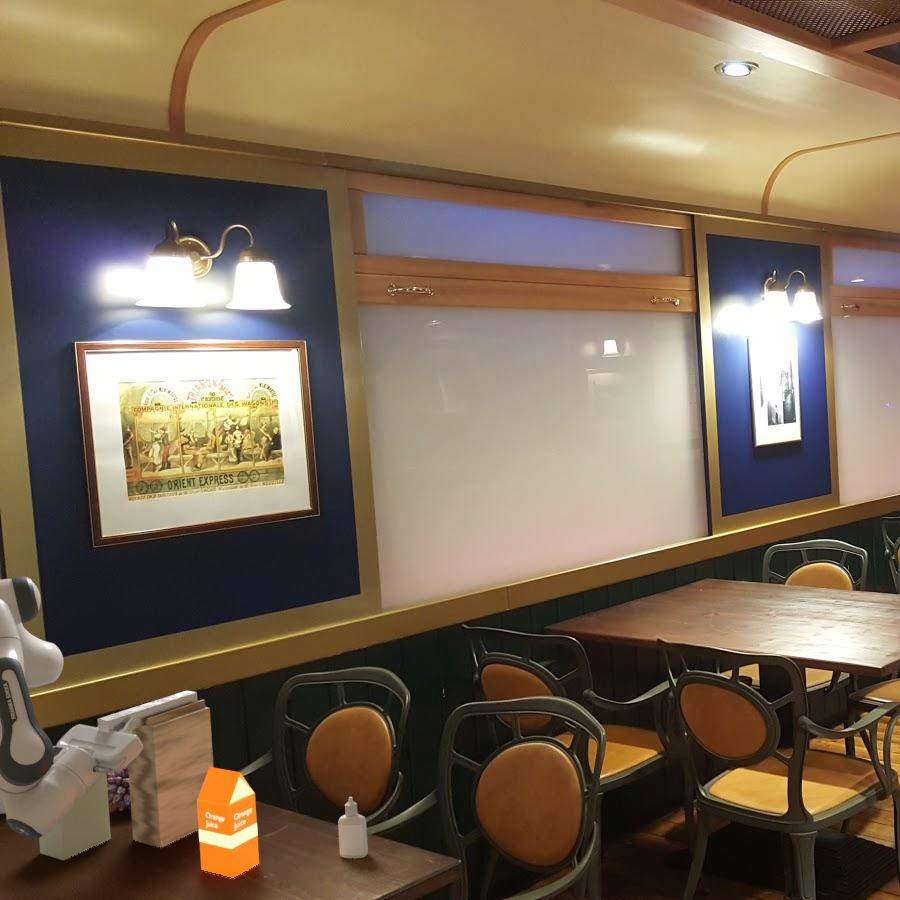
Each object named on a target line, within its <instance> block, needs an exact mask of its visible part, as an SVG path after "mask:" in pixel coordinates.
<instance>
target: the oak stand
mask: <svg viewBox="0 0 900 900" xmlns="http://www.w3.org/2000/svg"><path fill="white" fill-rule="evenodd" d="M210 709H211V708H210V707H207V706H206V699H200V700H197V702H194V703H191V704H188V705H185V706H182V707H179V708H176V709H173V710H170V711H167V712H164V713H161V714H158V715H155V716H152V717H149V718H146V725H145V726H142V727H139V728H136V729H133V730H132V733H131V734H134V735H137V736H138V738H139V739H140V741H141V742H142V744H143V750H142V752H141V753H140V754H139V755H138V756H137V757H136V758H135V759H134V760H133V761H132V762H131V763H129V764H128V769H129V784H130V799H131V809H130V810H131V811H130V813H131V825H132V826H131V827H132V840H135V841H134V842H137V841H138V843H141V844H145V845H148V846H152V847H155V846H156V848H159V847H160V848H159V849H162V848H165V847H166V846H168V844H169V845H170V843H171V844H172V842H173V843H175V842H177V841H179V840H181V839H183V838H185V836H186V837H187V835H188V836H190V835H192V834H194V833H196V832H199V824H198V808H197V799H198V797H199V794H200V792H201V789H202V786H203V783H204V781H205V778H206V775H207V773H208V770H209V767H213V768H214V756H213V754H214V753H213V740H212V727H211V726H212V723H211V722H212V721H211V710H210ZM195 831H196V832H195ZM193 832H194V833H193ZM191 833H192V834H191ZM189 834H190V835H189ZM180 838H181V839H180ZM176 840H177V841H176ZM174 841H175V842H174ZM161 847H162V848H161Z"/></svg>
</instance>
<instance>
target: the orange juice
mask: <svg viewBox="0 0 900 900" xmlns="http://www.w3.org/2000/svg"><path fill="white" fill-rule="evenodd" d="M256 803H257V802H256V793H255V791H254V790H253V789H252V787H251V786H250V785H249V783H248V781H247V780H246V779H245V777H244V776H243V774H242V773H241V772H239V771H235V770H234V771H233V770H229V769H222V768H217V767H214V766H213V767H209V770H208V773H207V775H206V778H205V781H204V783H203V786H202V789H201V792H200V794H199V797H198V799H197V808H198V824H199V830H198V839H199V841H198V842H199V851H200V854H199V855H200V868H201V870H204V871H208V872H212V873H216V874H221V875H223V876H227V877H231V878H234V877H236V876H238V875H240V874H241V875H243V874H244V873H243V872H245V871H247V872H249V871H250V870H252V869H254V868H255V867H257V866H259V865H260V856H259V855H260V854H259V836H258V835H259V834H258V822H257V821H258V820H257V819H258V818H257V808H256V805H257V804H256ZM258 864H259V865H258ZM256 865H257V866H256ZM254 866H255V867H254ZM253 867H254V868H253ZM251 868H252V869H251ZM249 869H250V870H249ZM242 873H243V874H242ZM245 873H246V872H245ZM241 875H240V876H241ZM223 876H222V877H223ZM227 877H226V878H227ZM238 877H239V876H238ZM231 878H230V879H231ZM236 878H237V877H236ZM234 879H235V878H234Z"/></svg>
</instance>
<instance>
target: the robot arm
mask: <svg viewBox="0 0 900 900" xmlns="http://www.w3.org/2000/svg"><path fill="white" fill-rule="evenodd" d="M41 600H42V599H41V593H40V591H39V588H38V587H37V585H36V584H35V583H34V581H33V580H32V579H31V578H30V577H27V576H23V575H21V576H19V575H18V576H16V575H15V576H12V577H11V578H3V579H1V578H0V814H2V815H3V814H5V815H6V823H7V825H8V826H9V828H11V829H12V830H13V831H14V832H15V833H16V834H18V835H20V836H21V837H24V838H28V839H39V838H40V837H43V836H45V835H46V834H47V833H49V832H50V831H51V830H52V829H53V828H55V827H56V826H57V825H58V824H59V823H60V822H61V821H62V820H63V819H64V818H65V816H66V815H67V814H68V813H69V812H70V811H71V809H72V808H73V806H74V804H75V803H76V801H77V800H78V799H80V798H81V797H83V796H84V795H85V794H86V793H87V792H88V791H89V790H90V789H91V788H92V787H93V785H94V784H95V783H96V782H97V781H98V780H99V779H100V778H101V777H102V773H104V774H106V775H107V776H108V775H110V774H111V773H114V772H118V771H121V770H122V769H124V768H125V767H126V766H127V765H128V764H129V763H131V762H132V761H133V760H134V759H135V758H136V757H137V756H138V755H139V754H140V753H141V752H142V750H143V744H142V742H141V741H140V739H139V738H138V736H137V735H134V734H131V733H132V729H133V728H134V727H135V726H136V725H137V721H136V720H135V718H130V717H129V718H128V719H127V720H126V721H125V722H124V724H125V727H124V729H121V730H120V731H119V732H118V731H111V732H109V733H108V732H103V731H98V726H91V725H86V724H81V723H80V724H76V725H75V726H73V727H71V728H70V729H69V730H68V731H67V732H66V733H65V734H64V735H63V736H62V737H61V738H60V739H59V740H58V741H57V743H56V745H53V743H52V740H51V739H50V737H49V736H48V734H47V733H46V732H45V731H44V730H43V728H42V727H41V725H40V724H39V722H38V720H37V716H36V714H35V710H34V707H33V702H32V698H31V695H30V692H29V689H32V688H39V687H42V686H44V685H49V684H51V683H54V682H56V681H57V680H58V678H59V677H60V676H61V674H62V672H63V669H64V656H63V653H62V651H61V649H60V648H59V647H58V646H57V645H56V644H55V643H53V642H50V641H46V640H43V639H40V638H39V637H37V636H35V635H33V634H31V633H30V631H28V630H27V629H26V628H25V627H24V625H23V624H26V623H28V622H30V621H32V620H34V619H36V618H37V616H38V615H39V613H40V608H41V604H42V603H41Z"/></svg>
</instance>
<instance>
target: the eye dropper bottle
mask: <svg viewBox="0 0 900 900" xmlns="http://www.w3.org/2000/svg"><path fill="white" fill-rule="evenodd" d="M353 799H354V798H353V796H349V797H348V801H347V802H346V803H345V804H344V807H345V809H344V812H345V814H343V815H341V816H340V817H339V819H338V822H337V826H338V827H337V829H338V844H339V845H338V847H339V855H340V857H341V858H344V859H352V858H353V859H362V858H365V857H366V856H367V855H368V852H369V851H368V850H369V849H368V848H369V847H368V845H369V844H368V830H367V820H366V817H365V816H363V814H359V813H358V803H357V802H355V801H354V800H353Z"/></svg>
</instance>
